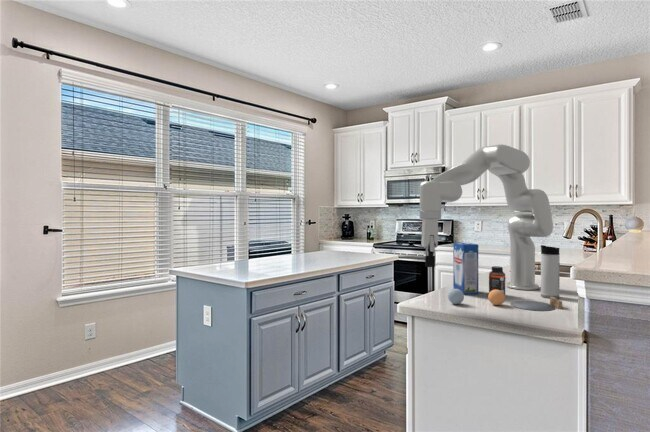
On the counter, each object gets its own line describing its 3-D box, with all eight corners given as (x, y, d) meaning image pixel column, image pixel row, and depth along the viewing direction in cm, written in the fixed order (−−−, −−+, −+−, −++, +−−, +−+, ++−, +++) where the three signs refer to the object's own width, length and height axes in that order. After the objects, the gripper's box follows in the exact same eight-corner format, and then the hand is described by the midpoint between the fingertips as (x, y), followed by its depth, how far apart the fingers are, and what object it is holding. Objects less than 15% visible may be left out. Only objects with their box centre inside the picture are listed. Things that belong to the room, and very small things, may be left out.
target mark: (505, 300, 149) (505, 300, 149) (545, 301, 147) (545, 301, 147) (517, 310, 135) (517, 309, 135) (562, 311, 133) (562, 310, 133)
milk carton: (453, 289, 169) (453, 242, 169) (467, 289, 170) (467, 242, 170) (463, 295, 160) (463, 244, 159) (478, 294, 160) (478, 244, 160)
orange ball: (486, 302, 146) (486, 287, 146) (502, 303, 145) (502, 288, 145) (490, 306, 141) (490, 291, 141) (507, 307, 140) (507, 291, 140)
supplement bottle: (507, 297, 155) (507, 268, 154) (490, 296, 156) (490, 267, 156) (503, 294, 161) (503, 265, 160) (487, 293, 162) (487, 265, 162)
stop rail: (550, 303, 144) (550, 296, 144) (553, 304, 144) (553, 297, 144) (558, 308, 137) (558, 301, 137) (562, 308, 137) (562, 301, 137)
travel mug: (536, 295, 157) (536, 244, 157) (552, 295, 158) (552, 244, 158) (546, 299, 151) (546, 246, 151) (563, 298, 152) (563, 245, 151)
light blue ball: (446, 302, 148) (446, 287, 148) (462, 302, 147) (462, 287, 147) (449, 305, 143) (449, 290, 143) (465, 306, 142) (465, 290, 142)
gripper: (417, 215, 152) (417, 263, 152) (421, 216, 137) (421, 269, 138) (438, 215, 151) (438, 264, 151) (444, 216, 136) (444, 270, 136)
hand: (430, 266), depth 144 cm, fingers closed
